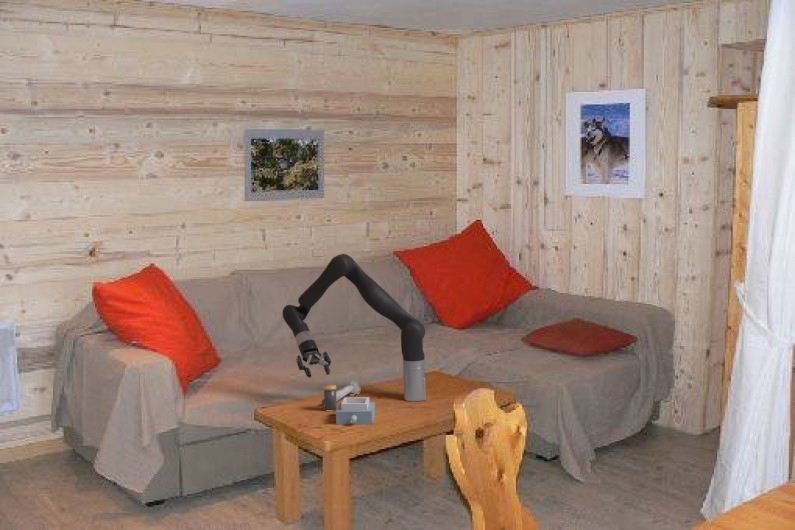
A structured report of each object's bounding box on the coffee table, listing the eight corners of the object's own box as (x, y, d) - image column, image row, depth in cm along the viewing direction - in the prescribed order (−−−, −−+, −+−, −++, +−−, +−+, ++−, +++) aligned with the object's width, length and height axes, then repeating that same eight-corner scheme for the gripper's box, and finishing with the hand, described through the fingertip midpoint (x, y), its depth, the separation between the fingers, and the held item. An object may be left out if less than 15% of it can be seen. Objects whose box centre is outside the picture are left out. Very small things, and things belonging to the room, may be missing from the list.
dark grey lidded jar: (338, 408, 370) (337, 384, 369) (336, 411, 364) (335, 387, 363) (325, 408, 370) (324, 384, 369) (323, 411, 365) (322, 387, 364)
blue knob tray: (375, 414, 359) (374, 395, 358) (371, 426, 342) (370, 407, 341) (340, 414, 360) (340, 396, 359) (335, 426, 343) (334, 407, 342)
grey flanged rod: (319, 397, 373) (352, 377, 394) (321, 412, 374) (353, 391, 395) (329, 399, 370) (362, 378, 391) (331, 414, 372) (363, 392, 392)
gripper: (293, 341, 376) (306, 372, 367) (323, 336, 383) (337, 367, 375) (288, 351, 381) (301, 382, 373) (318, 347, 388) (331, 377, 380)
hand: (319, 375), depth 374 cm, fingers open, 8 cm apart
